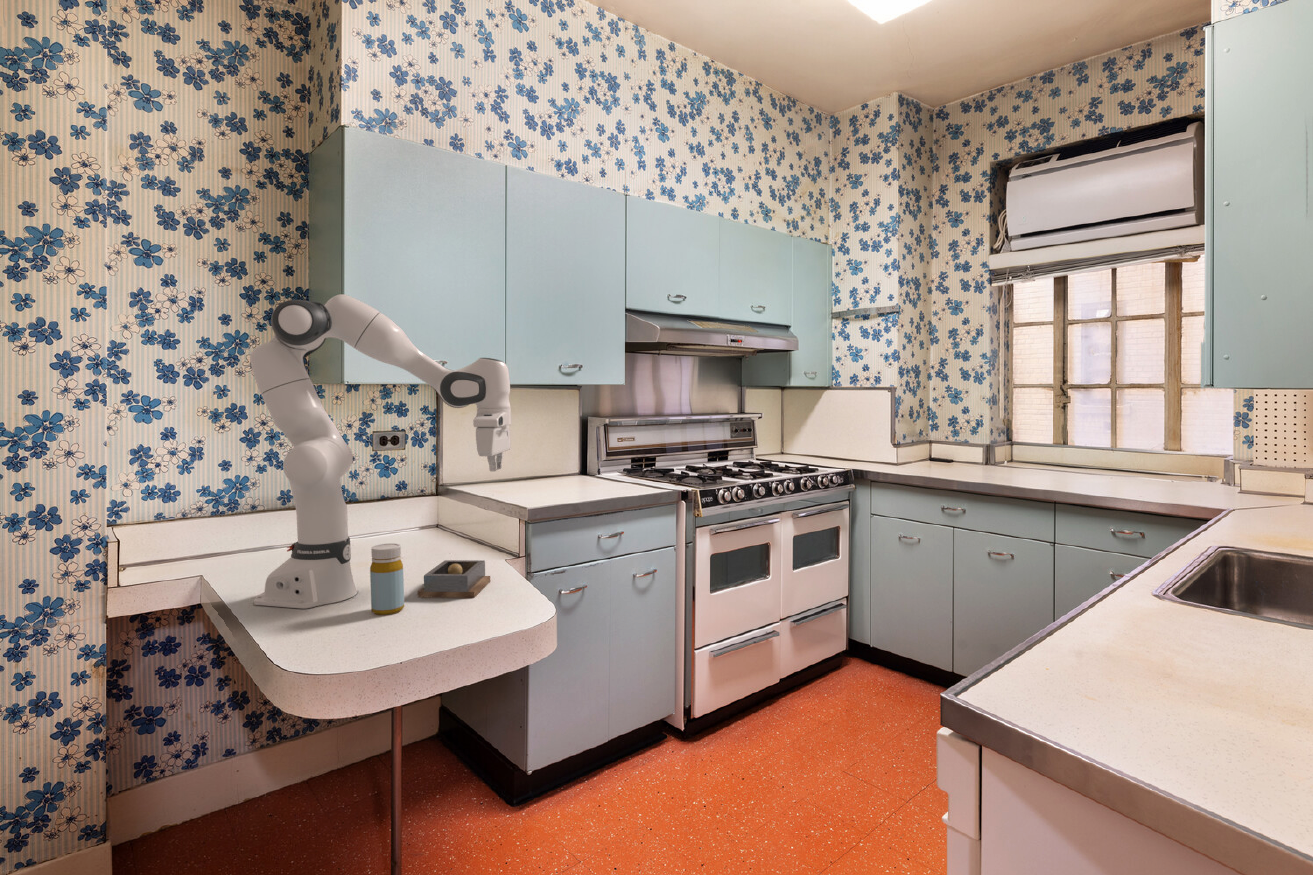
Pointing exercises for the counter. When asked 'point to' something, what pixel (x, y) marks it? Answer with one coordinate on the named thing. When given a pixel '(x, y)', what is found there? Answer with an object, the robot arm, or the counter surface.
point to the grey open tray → (454, 576)
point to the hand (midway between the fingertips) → (495, 470)
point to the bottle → (386, 579)
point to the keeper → (470, 594)
